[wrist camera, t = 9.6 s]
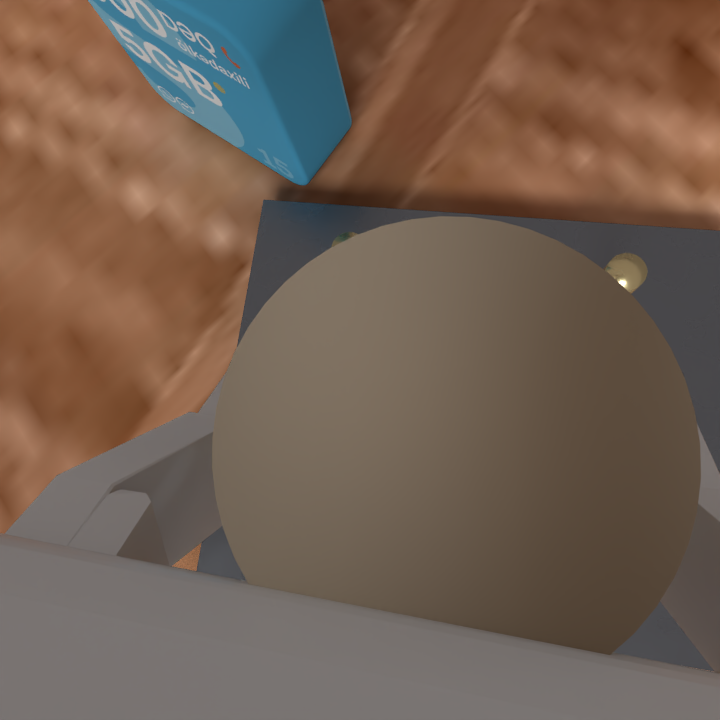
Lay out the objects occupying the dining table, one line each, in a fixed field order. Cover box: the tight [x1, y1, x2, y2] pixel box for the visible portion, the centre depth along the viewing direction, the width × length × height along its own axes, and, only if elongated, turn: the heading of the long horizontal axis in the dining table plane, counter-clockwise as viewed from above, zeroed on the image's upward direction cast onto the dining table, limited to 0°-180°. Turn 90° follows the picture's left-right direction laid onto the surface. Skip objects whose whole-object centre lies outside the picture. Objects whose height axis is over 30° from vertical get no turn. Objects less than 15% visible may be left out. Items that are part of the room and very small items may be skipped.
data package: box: [88, 0, 352, 185], centre depth 28 cm, size 12×4×12 cm, turn 54°
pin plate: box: [197, 200, 720, 672], centre depth 26 cm, size 24×20×6 cm
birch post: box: [212, 216, 701, 655], centre depth 10 cm, size 4×4×10 cm
